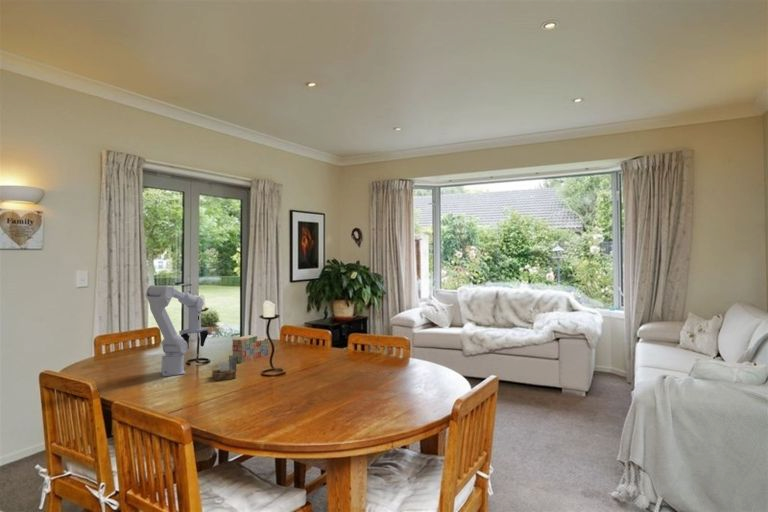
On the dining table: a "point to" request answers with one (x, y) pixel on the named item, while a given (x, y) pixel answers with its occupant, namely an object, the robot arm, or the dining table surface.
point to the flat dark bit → (232, 362)
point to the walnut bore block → (223, 375)
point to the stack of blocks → (249, 348)
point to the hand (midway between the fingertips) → (194, 347)
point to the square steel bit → (223, 366)
